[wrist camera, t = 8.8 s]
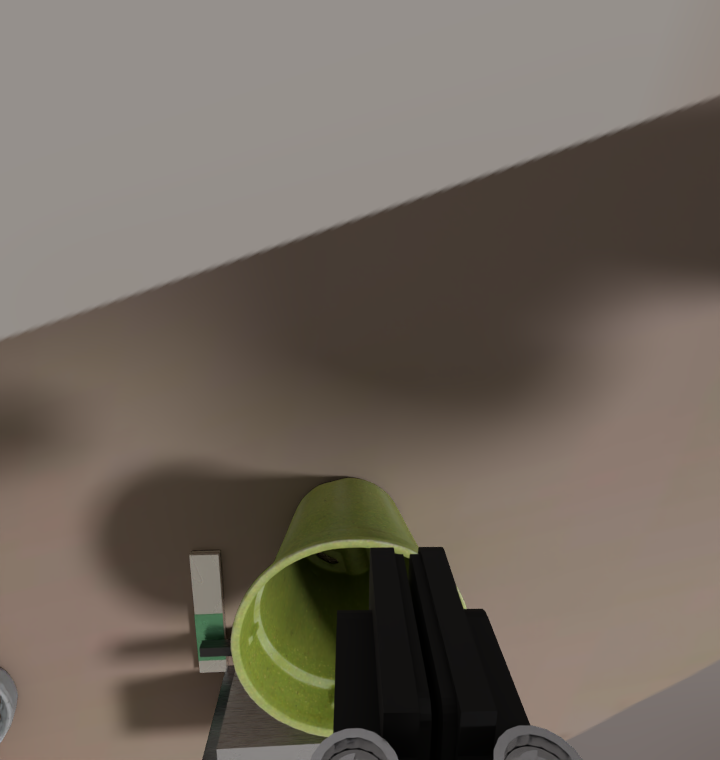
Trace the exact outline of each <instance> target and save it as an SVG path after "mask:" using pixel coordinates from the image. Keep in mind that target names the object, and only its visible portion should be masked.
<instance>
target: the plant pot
mask: <svg viewBox="0 0 720 760" xmlns="http://www.w3.org/2000/svg"><path fill="white" fill-rule="evenodd" d="M373 547H393V548H394V551H395V554H403V555H404V560H405V566H406V571H407V576H409V556H410V554H418V548H419V547H418V546H417V544H416V542H415V540H414V539H413V537H412V535H411V533H410V531H409V530H408V528H407V526H406V524H405V522H404V520H403V518H402V516H401V514H400V512H399V510H398V509H397V507H396V505H395V503H394V502H393V500H392V499H391V498H390V496H389V495H388V494H387V493H386V492H385V491H383V490H382V489H381V488H380V487H378V486H377V485H375V484H373V483H371V482H368V481H365V480H362V479H357V478H344V479H340V480H336V481H332V482H329V483H325V484H321V485H319V486H317V487H315V488H314V489H312V490H311V491H310V492H309V493H308V494H307V495H306V496H305V497H304V498H303V499H302V501H301V502H300V504H299V505H298V507H297V509H296V512H295V514H294V516H293V518H292V521H291V523H290V526H289V528H288V530H287V533H286V535H285V538H284V540H283V542H282V545H281V547H280V549H279V551H278V554H277V556H276V558H275V560H274V563H273V564H272V565H270V566H269V567H268V568H267V569H266V570H265V571H264V572H263V573H261V574H260V576H259V577H258V578H257V579H256V580H255V581H254V583H253V584H252V585H251V586H250V588H249V589H248V591H247V592H246V594H245V596H244V598H243V599H242V601H241V604H240V606H239V608H238V610H237V613H236V616H235V619H234V623H233V627H232V633H231V654H232V659H233V664H234V667H235V671H236V674H237V676H238V679H239V681H240V682H241V684H242V686H243V687H244V689H245V691H246V692H247V693H248V695H249V696H250V698H251V699H252V700H253V701H254V702H255V703H256V704H257V705H258V706H259V707H260V708H261V709H263V710H264V711H265V712H267V713H268V714H269V715H270V716H272V717H274V718H275V719H277V720H278V721H280V722H282V723H284V724H287V725H289V726H291V727H293V728H295V729H298V730H301V731H304V732H306V733H309V734H314V735H317V736H324V737H329V736H330V735H332V734H333V721H334V690H335V658H336V627H337V610H369V571H370V548H373ZM319 552H322V553H324V554H325V555H327V556H328V557H331V558H335V559H337V561H338V562H337V563H329V562H326V561H324V560H322V559H321V558H319V557H318V556H317V553H319ZM456 587H457V586H456ZM457 590H458V588H457ZM458 593H459V596H460V599H461V602H462V605H463V608H464V609H467V608H466V605H465V602H464V599H463V597H462V595H461V593H460V591H459V590H458Z"/></svg>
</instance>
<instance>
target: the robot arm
mask: <svg viewBox="0 0 720 760" xmlns="http://www.w3.org/2000/svg"><path fill="white" fill-rule="evenodd" d="M311 760H583V759H582V758H581V757H580V755H579V754H578V753H577V752H576V750H575V749H574V748H573V747H572V746H570V745H569V744H568V743H567V742H566V741H565V740H563V739H562V738H561V737H559V736H558V735H556V734H554V733H552V732H550V731H548V730H547V729H543V728H539V727H536V726H532V725H530V723H529V721H528V718H527V716H526V713H525V711H524V708H523V705H522V703H521V700H520V698H519V695H518V693H517V690H516V688H515V685H514V682H513V680H512V677H511V675H510V672H509V670H508V667H507V665H506V662H505V659H504V657H503V654H502V652H501V649H500V647H499V644H498V642H497V639H496V637H495V634H494V631H493V629H492V626H491V624H490V621H489V619H488V616H487V614H486V612H485V611H484V610H483V609H464V608H463V605H462V602H461V599H460V596H459V593H458V590H457V587H456V584H455V581H454V578H453V575H452V572H451V569H450V566H449V563H448V560H447V557H446V554H445V551H444V549H443V547H419V548H418V554H410V556H409V576H407V571H406V566H405V560H404V555H403V554H395V551H394V548H393V547H373V548H370V571H369V610H337V627H336V658H335V690H334V721H333V734H332V735H330V736H329V737H328V738H326V739H325V740H324V741H322V742H321V744H320V745H319V746H318V748H317V749H316V750H315V752H314V753H313V755H312V757H311Z"/></svg>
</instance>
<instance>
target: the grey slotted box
mask: <svg viewBox="0 0 720 760" xmlns="http://www.w3.org/2000/svg"><path fill="white" fill-rule="evenodd" d="M189 557H190V569H191V580H192V591H193V602H194V613H195V615H194V616H195V627H196V638H197V649H198V660H199V669H200V673H206V672H225V674H224V678H223V682H222V686H221V690H220V694H219V697H218V701H217V705H216V709H215V713H214V717H213V720H212V724H211V728H210V732H209V736H208V740H207V743H206V747H205V751H204V755H203V759H202V760H217V750H216V749H217V745H218V741H219V736H220V732H221V728H222V724H223V720H224V715H225V711H226V707H227V703H228V698H229V694H230V690H231V686H232V682H233V677H234V673H235V667H234V666H228V656H218V657H200V651H199V648H200V645H201V642H202V640H221V639H226V626H225V612H224V598H223V584H222V570H221V556H220V550H216V551H191V553H190V555H189Z"/></svg>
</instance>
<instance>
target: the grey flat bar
mask: <svg viewBox="0 0 720 760" xmlns="http://www.w3.org/2000/svg"><path fill="white" fill-rule="evenodd" d="M199 651H200V657H218V656H232V654H231V639H221V640H202V642H201V645H200V648H199ZM326 738H328V737H324V736H317V735H314V734H309V733H306V732H304V731H301V730H298V729H295V728H293V727H291V726H289V725H287V724H284V723H282V722H280V721H278V720H277V719H275V718H274V717H272V716H270V715H269V714H268V713H267V712H265V711H264V710H263V709H261V708H260V707H259V706H258V705H257V704H256V703H255V702H254V701H253V700H252V699H251V698H250V696H249V695H248V693H247V692H246V691H245V689H244V687H243V686H242V684H241V682H240V681H239V679H238V676H237V674H236V671H235V673H234V677H233V682H232V686H231V690H230V694H229V698H228V703H227V707H226V711H225V715H224V720H223V724H222V728H221V732H220V736H219V741H218V745H217V749H216V750H217V760H311V757H312V755H313V753H314V752H315V750H316V749H317V748H318V746H319V745H320V744H321V742H322V741H324V740H325V739H326Z"/></svg>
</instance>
